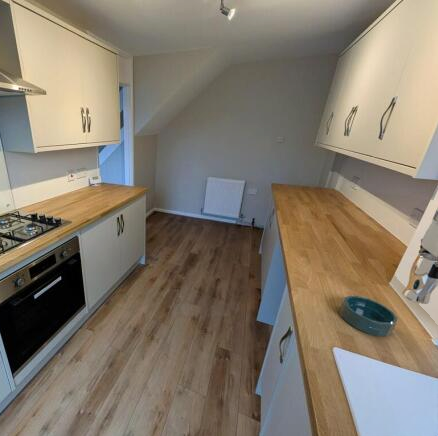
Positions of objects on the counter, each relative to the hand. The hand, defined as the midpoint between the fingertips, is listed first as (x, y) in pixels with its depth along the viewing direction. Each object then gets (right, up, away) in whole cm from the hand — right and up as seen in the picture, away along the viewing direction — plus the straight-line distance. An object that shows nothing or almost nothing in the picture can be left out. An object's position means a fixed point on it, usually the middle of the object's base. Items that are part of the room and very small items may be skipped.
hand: (427, 271), depth 75 cm
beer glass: (0, -10, +4) cm, 10 cm away
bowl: (-13, -19, +8) cm, 25 cm away
